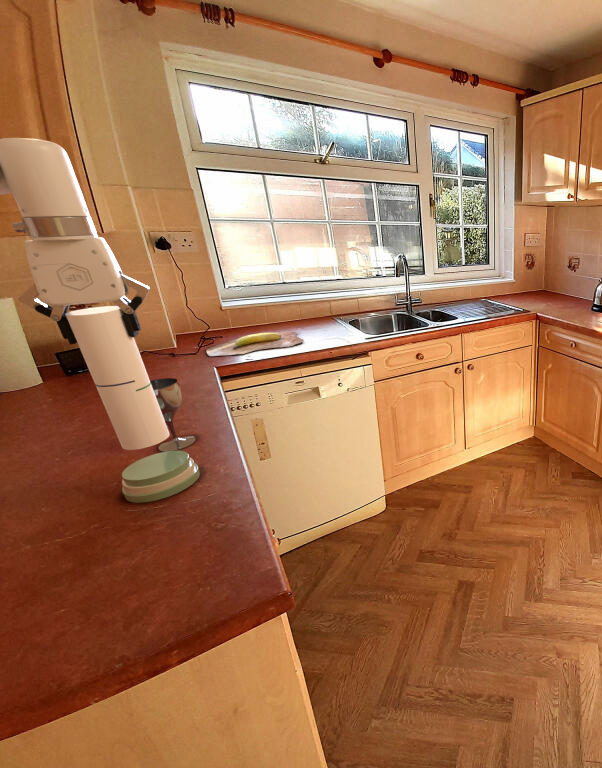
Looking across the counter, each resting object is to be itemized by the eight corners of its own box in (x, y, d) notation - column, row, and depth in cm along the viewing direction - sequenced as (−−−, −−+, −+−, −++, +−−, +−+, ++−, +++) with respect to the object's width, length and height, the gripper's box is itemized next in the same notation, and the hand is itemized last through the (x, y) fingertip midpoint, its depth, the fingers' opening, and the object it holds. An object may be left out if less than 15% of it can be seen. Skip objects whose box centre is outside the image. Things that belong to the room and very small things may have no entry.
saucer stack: (108, 499, 80) (98, 479, 78) (166, 464, 91) (159, 446, 89) (160, 505, 78) (152, 485, 76) (214, 469, 89) (208, 451, 87)
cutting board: (295, 330, 195) (294, 322, 193) (309, 343, 174) (307, 334, 173) (205, 344, 176) (202, 336, 174) (208, 361, 155) (205, 351, 154)
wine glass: (185, 432, 104) (165, 376, 98) (205, 439, 101) (185, 381, 95) (148, 447, 98) (124, 388, 92) (168, 455, 94) (144, 394, 89)
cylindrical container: (116, 442, 80) (60, 312, 70) (161, 427, 85) (115, 304, 76) (129, 453, 76) (71, 317, 66) (175, 437, 81) (128, 308, 72)
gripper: (-31, 232, 59) (26, 352, 66) (127, 228, 67) (164, 336, 74) (-4, 231, 65) (46, 341, 72) (138, 227, 73) (171, 327, 80)
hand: (105, 338), depth 73 cm, fingers closed on cylindrical container, 7 cm apart
